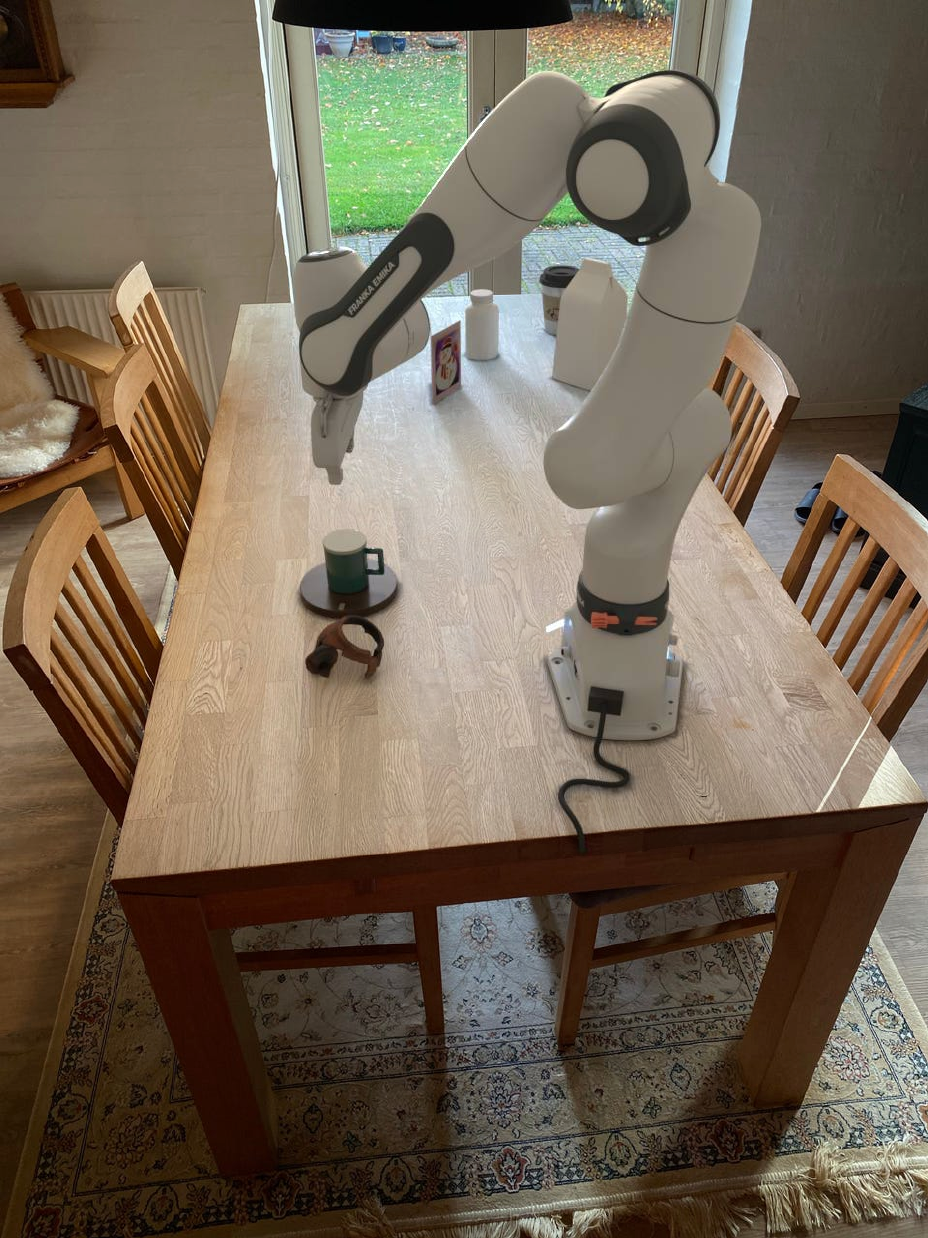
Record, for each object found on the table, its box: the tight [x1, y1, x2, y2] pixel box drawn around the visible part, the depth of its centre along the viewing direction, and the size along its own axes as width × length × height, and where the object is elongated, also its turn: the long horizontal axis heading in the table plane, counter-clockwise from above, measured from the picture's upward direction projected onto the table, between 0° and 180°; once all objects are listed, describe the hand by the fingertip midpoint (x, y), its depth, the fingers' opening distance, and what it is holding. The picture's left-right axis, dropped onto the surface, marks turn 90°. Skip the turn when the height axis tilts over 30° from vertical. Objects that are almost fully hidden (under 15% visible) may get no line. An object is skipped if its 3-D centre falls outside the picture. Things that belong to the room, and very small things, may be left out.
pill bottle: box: [464, 288, 500, 361], centre depth 222 cm, size 8×8×15 cm
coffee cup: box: [538, 264, 580, 336], centre depth 235 cm, size 11×11×15 cm
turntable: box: [299, 557, 398, 620], centre depth 145 cm, size 15×15×2 cm
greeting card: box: [429, 320, 462, 405], centre depth 204 cm, size 11×7×15 cm, turn 148°
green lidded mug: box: [322, 528, 385, 594], centre depth 143 cm, size 7×9×8 cm
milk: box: [551, 257, 628, 392], centre depth 207 cm, size 12×12×26 cm
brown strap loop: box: [304, 615, 385, 679], centre depth 129 cm, size 12×10×8 cm
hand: (342, 466), depth 134 cm, fingers open, 8 cm apart
